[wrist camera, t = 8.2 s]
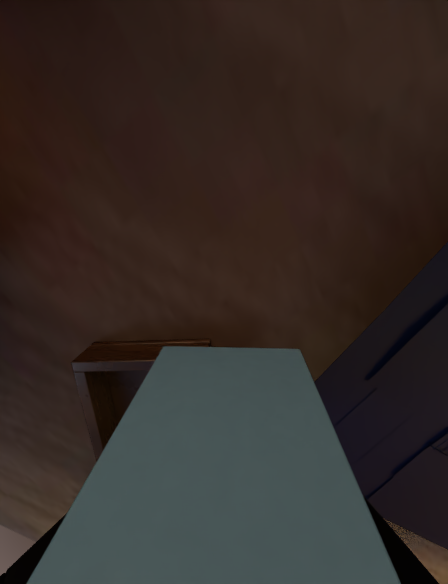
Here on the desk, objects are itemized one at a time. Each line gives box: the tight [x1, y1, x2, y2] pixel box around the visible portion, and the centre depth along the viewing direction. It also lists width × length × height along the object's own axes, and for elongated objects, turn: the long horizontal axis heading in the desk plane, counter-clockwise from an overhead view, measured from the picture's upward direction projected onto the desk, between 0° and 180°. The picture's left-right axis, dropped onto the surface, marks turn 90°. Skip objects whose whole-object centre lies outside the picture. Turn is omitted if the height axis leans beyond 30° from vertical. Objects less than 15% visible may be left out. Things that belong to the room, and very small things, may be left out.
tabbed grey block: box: [27, 346, 401, 584], centre depth 8 cm, size 6×11×10 cm, turn 0°
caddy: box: [71, 339, 211, 461], centre depth 22 cm, size 15×9×3 cm, turn 4°
